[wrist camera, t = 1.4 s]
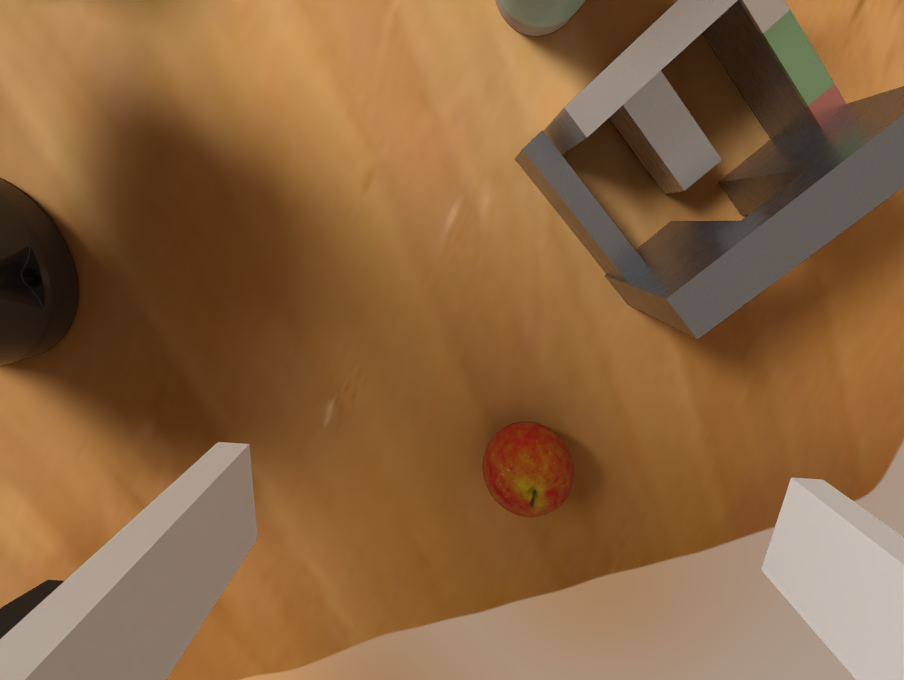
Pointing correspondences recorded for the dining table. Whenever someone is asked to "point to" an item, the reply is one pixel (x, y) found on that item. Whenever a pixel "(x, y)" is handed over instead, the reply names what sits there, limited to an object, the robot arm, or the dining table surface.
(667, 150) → the grey rectangular block
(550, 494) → the fruit
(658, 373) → the dining table surface
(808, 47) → the gauge base
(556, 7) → the coffee cup
